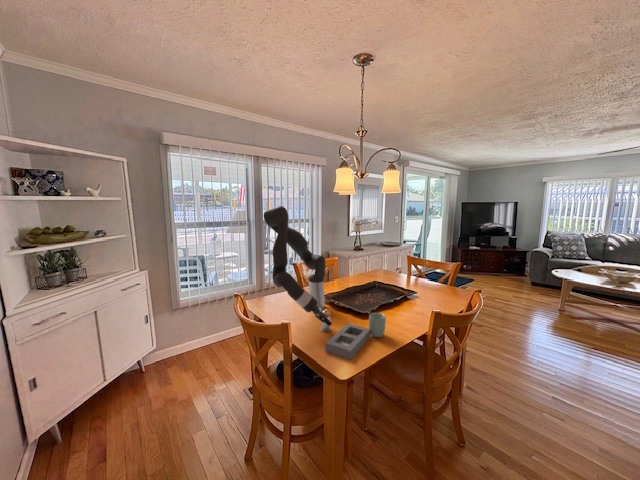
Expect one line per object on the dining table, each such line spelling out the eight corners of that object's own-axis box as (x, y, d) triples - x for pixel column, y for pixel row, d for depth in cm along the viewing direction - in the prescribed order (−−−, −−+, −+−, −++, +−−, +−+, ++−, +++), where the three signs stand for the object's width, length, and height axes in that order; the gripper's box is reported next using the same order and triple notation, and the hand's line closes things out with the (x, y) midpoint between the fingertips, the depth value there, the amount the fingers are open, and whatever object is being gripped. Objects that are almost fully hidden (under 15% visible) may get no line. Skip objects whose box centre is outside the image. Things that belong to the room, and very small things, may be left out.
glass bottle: (324, 327, 135) (324, 307, 133) (331, 329, 132) (331, 309, 131) (320, 330, 131) (319, 310, 129) (327, 332, 129) (327, 312, 127)
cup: (366, 331, 129) (367, 312, 128) (381, 331, 130) (382, 312, 129) (370, 339, 121) (371, 319, 120) (386, 339, 122) (388, 319, 121)
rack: (325, 351, 112) (325, 342, 111) (347, 330, 130) (348, 323, 130) (350, 360, 106) (350, 351, 105) (370, 337, 124) (370, 329, 124)
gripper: (313, 300, 121) (337, 322, 124) (309, 290, 135) (331, 310, 138) (302, 312, 121) (326, 333, 124) (299, 301, 135) (321, 320, 138)
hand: (329, 321), depth 131 cm, fingers open, 6 cm apart
